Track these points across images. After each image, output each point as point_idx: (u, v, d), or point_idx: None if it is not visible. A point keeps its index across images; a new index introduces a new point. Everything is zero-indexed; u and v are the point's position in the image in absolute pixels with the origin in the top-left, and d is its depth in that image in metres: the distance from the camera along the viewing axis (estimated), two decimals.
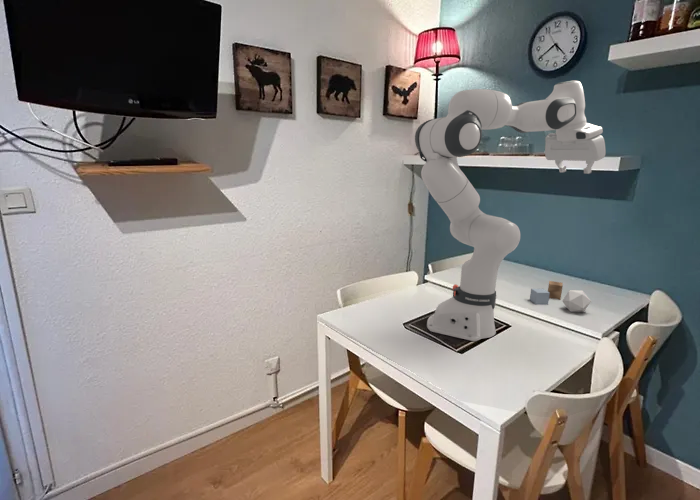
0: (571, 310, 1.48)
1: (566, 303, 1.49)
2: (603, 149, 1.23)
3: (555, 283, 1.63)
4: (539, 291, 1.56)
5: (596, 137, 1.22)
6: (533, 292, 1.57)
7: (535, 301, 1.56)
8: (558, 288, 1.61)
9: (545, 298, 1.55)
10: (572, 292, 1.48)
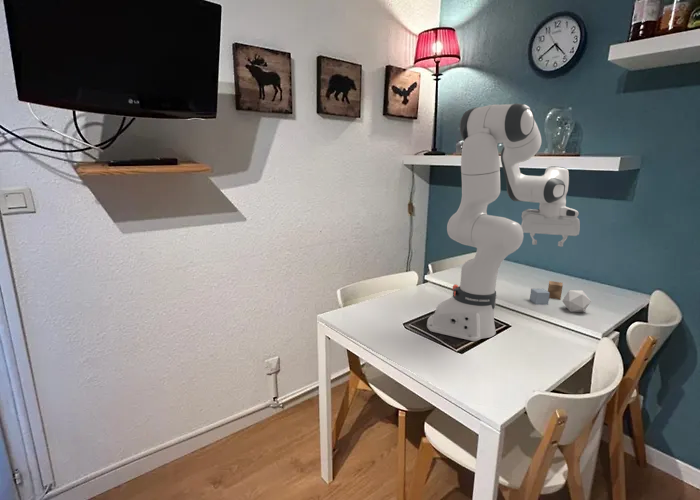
0: (571, 310, 1.48)
1: (566, 303, 1.49)
2: None
3: (555, 283, 1.63)
4: (539, 291, 1.56)
5: None
6: (533, 292, 1.57)
7: (535, 301, 1.56)
8: (558, 288, 1.61)
9: (545, 298, 1.55)
10: (572, 292, 1.48)
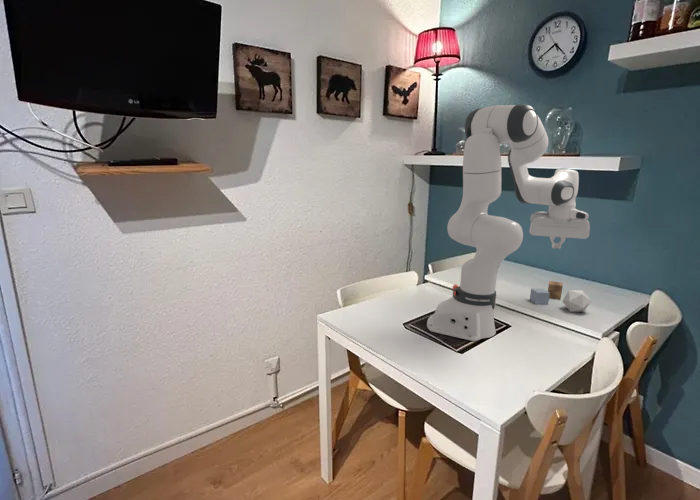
0: (571, 310, 1.48)
1: (566, 303, 1.49)
2: None
3: (555, 283, 1.63)
4: (539, 291, 1.56)
5: None
6: (533, 292, 1.57)
7: (535, 301, 1.56)
8: (558, 288, 1.61)
9: (546, 298, 1.55)
10: (572, 292, 1.48)
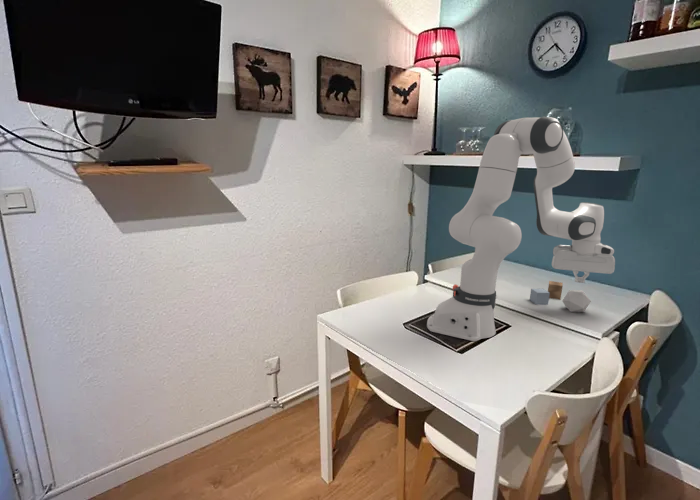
0: (571, 310, 1.48)
1: (566, 303, 1.49)
2: None
3: (555, 283, 1.63)
4: (539, 291, 1.56)
5: None
6: (533, 292, 1.57)
7: (535, 301, 1.56)
8: (558, 288, 1.61)
9: (546, 298, 1.55)
10: (572, 292, 1.48)
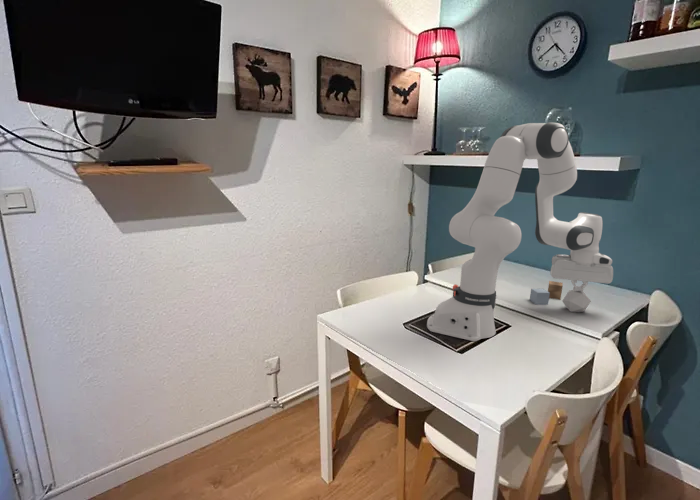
0: (571, 310, 1.48)
1: (566, 303, 1.49)
2: None
3: (555, 283, 1.63)
4: (539, 291, 1.56)
5: None
6: (533, 292, 1.57)
7: (535, 301, 1.56)
8: (558, 288, 1.61)
9: (546, 298, 1.55)
10: (572, 292, 1.48)
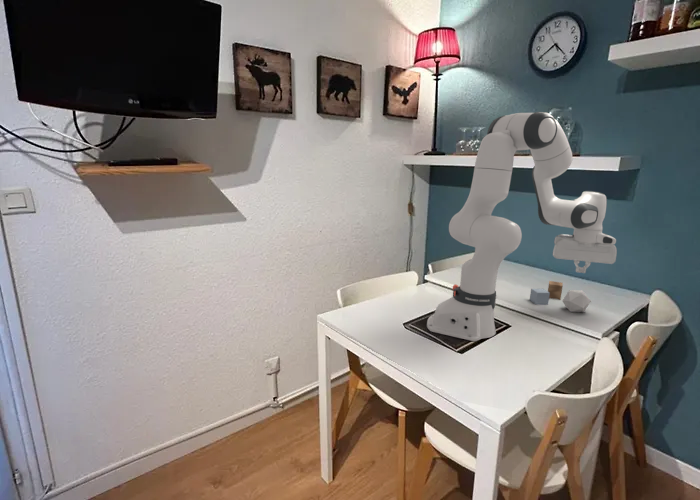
0: (571, 310, 1.48)
1: (566, 303, 1.49)
2: None
3: (555, 283, 1.63)
4: (539, 291, 1.56)
5: None
6: (533, 292, 1.57)
7: (535, 301, 1.56)
8: (558, 288, 1.61)
9: (546, 298, 1.55)
10: (572, 292, 1.48)
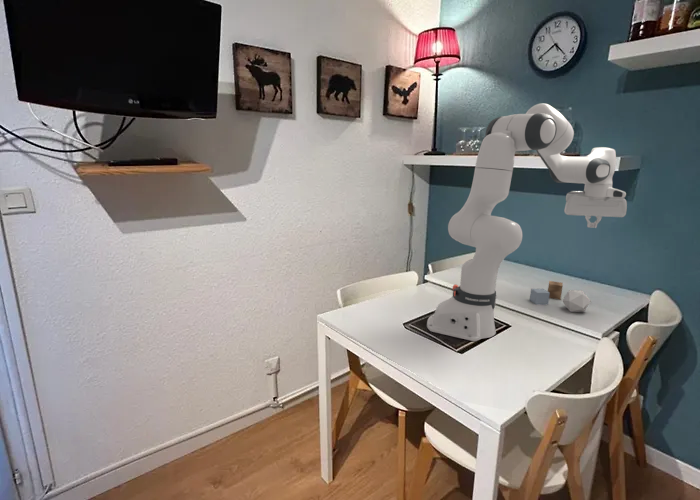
0: (571, 310, 1.48)
1: (566, 303, 1.49)
2: None
3: (555, 283, 1.63)
4: (539, 291, 1.56)
5: None
6: (533, 292, 1.57)
7: (535, 301, 1.56)
8: (558, 288, 1.61)
9: (546, 298, 1.55)
10: (572, 292, 1.48)
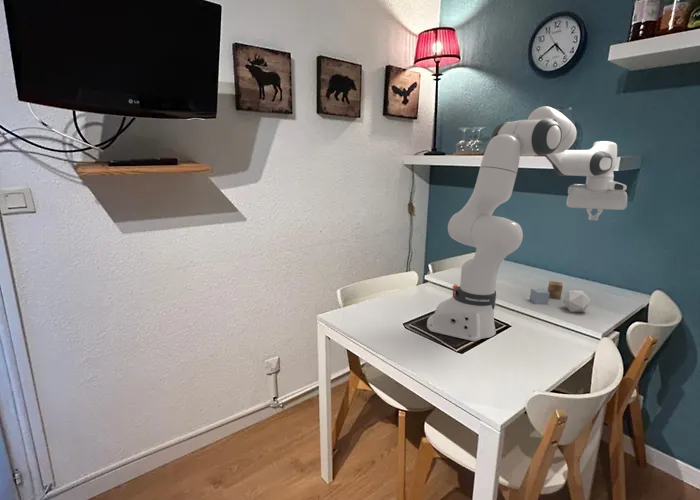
0: (571, 310, 1.48)
1: (566, 303, 1.49)
2: None
3: (555, 283, 1.63)
4: (539, 291, 1.56)
5: None
6: (533, 292, 1.57)
7: (535, 301, 1.56)
8: (558, 288, 1.61)
9: (546, 298, 1.55)
10: (572, 292, 1.48)
